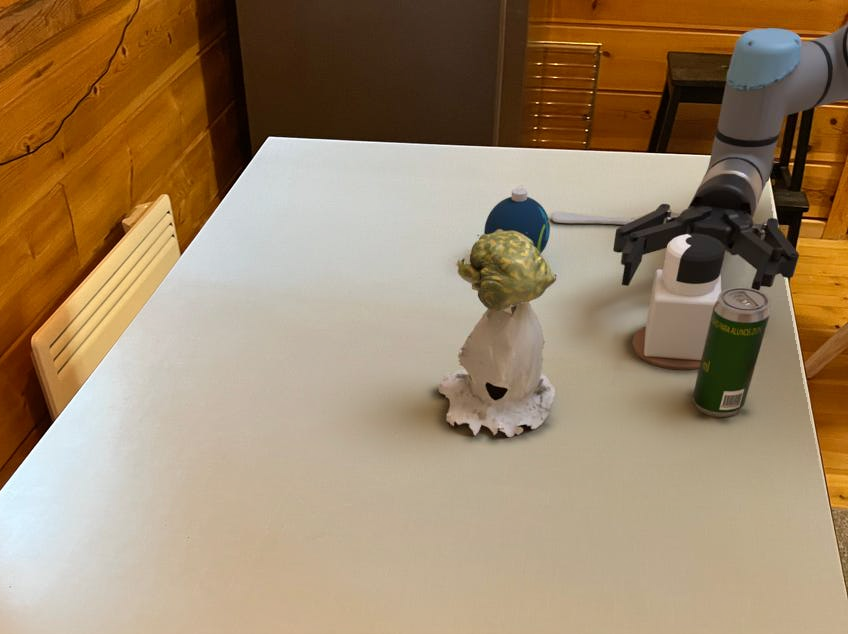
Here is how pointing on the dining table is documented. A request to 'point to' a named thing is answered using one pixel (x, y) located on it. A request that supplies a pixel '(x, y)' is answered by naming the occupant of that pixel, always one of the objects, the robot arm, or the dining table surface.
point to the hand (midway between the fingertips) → (688, 283)
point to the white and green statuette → (502, 338)
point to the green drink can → (731, 351)
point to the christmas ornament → (520, 218)
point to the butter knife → (588, 219)
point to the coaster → (668, 363)
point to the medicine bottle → (684, 297)
